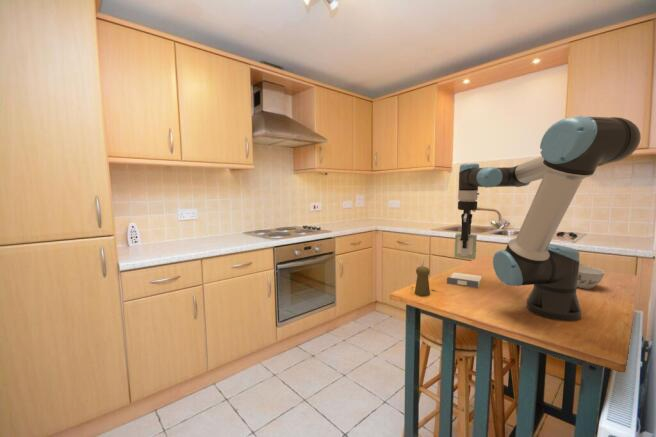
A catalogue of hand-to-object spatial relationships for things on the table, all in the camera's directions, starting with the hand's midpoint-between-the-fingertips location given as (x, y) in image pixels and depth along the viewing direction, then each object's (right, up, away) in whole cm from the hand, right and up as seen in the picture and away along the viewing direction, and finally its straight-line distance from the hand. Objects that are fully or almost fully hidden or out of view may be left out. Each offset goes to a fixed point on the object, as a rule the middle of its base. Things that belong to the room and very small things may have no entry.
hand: (465, 254), depth 132 cm
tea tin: (0, -1, 0) cm, 1 cm away
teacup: (+49, -13, -3) cm, 51 cm away
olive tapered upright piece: (-21, -15, -9) cm, 28 cm away
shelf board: (+1, -13, +4) cm, 14 cm away
